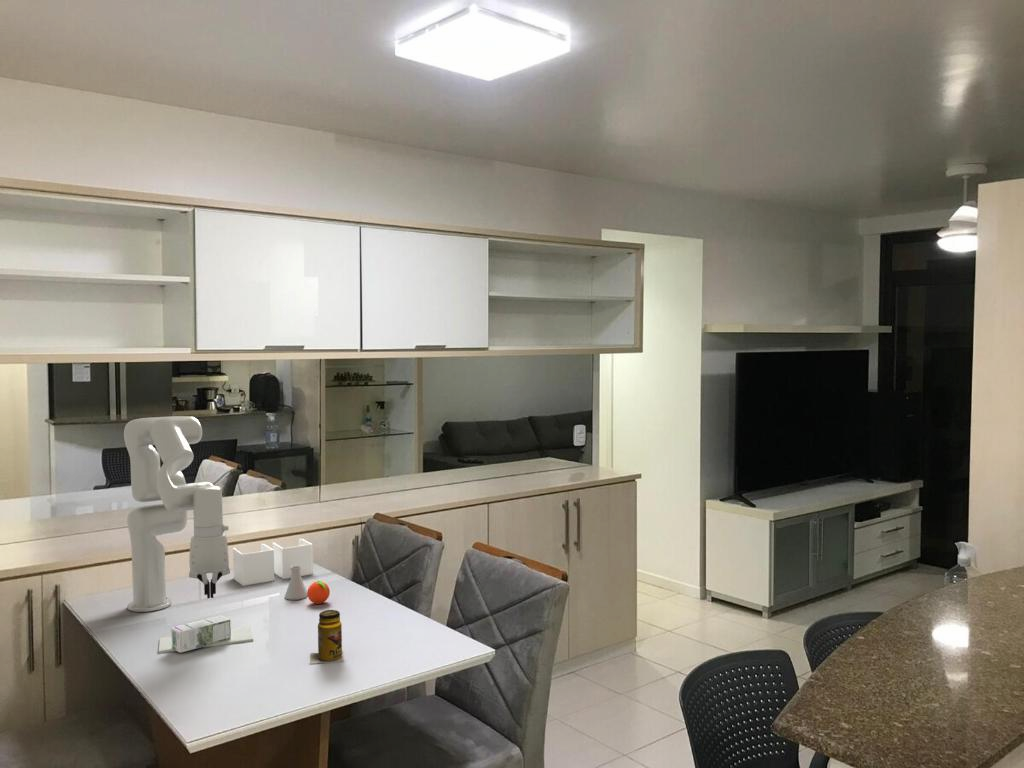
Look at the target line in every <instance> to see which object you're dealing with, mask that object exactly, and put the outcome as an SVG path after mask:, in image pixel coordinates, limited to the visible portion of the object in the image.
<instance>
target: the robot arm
mask: <svg viewBox="0 0 1024 768" xmlns="http://www.w3.org/2000/svg"><path fill="white" fill-rule="evenodd" d="M123 430H124V431H123V439H124V440H123V441H124V444H125V448H126V450H127V452H128V455H129V460H130V462H129V463H130V483H131V484H130V485H131V495H132V498H133V499H134V500H135V501H136V502H138V503H147V502H149V503H150V502H157V501H161V502H162V503H160V504H159V503H158V504H152V505H145V506H140V507H136V508H134V509H132V510H130V512H129V514H128V515H127V518H126V519H127V521H126V523H127V529H128V532H129V539H130V548H131V573H132V574H131V577H132V601H131V602H129V603H128V604H127V609H128V610H129V611H130V612H136V613H145V612H147V613H148V612H155V611H158V610H162V609H163V610H164V609H165V608H168V607H169V606H171V605H172V599H171V598H170V597H167V588H166V587H167V586H166V585H167V584H166V583H167V581H166V579H167V578H166V555H165V553H166V551H165V548H164V546H163V544H162V543H161V541H159V540H158V538H157V536H161V535H167V534H173V533H178V532H182V531H183V530H184V529H185V528H186V526H187V523H188V511H189V512H190V511H193V536H191V537H190V543H189V544H190V545H189V574H188V578H190V579H197V580H199V581H200V582H201V583H202V584H203V585H204V586H203V590H204V593H203V594H204V596H206V599H210V598H211V599H214V595H216V593H217V585H216V584H217V582H218V581H219V580H220V579H221V578H222V577H224V576H227V575H229V574H231V571H230V557H229V544H228V540H227V539H228V538H227V535H226V533H224V532H226V531H229V525H225V524H223V523H224V521H223V519H224V518H223V515H224V514H223V491H222V488H221V487H220V486H217V485H214V484H213V483H212V482H209V481H201V482H199V481H198V482H190V483H187V482H186V479H185V475H184V474H183V472H182V471H184V470H185V469H186V468H188V467H190V465H191V464H192V462H193V461H194V457H195V456H194V455H195V454H194V452H193V451H192V449H191V446H190V445H194V444H198V443H199V442H200V441H202V440H201V439H202V437H203V428H202V425H201V423H200V421H199V419H197V418H196V417H194V416H192V415H191V416H189V415H188V416H186V415H178V416H177V415H176V416H175V415H172V416H171V415H170V416H158V417H157V416H155V417H142V418H141V417H140V418H135V419H132V420H130V421H129V422H127V423H126V424H125V426H124V429H123ZM154 446H155V447H154ZM161 461H162V465H161ZM208 574H212V576H211V579H210V580H209V579H208V576H207V575H208Z"/></svg>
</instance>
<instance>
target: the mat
mask: <svg viewBox="0 0 1024 768" xmlns="http://www.w3.org/2000/svg"><path fill="white" fill-rule="evenodd" d="M248 642H249V643H250V642H254V637H253V634H252V629H251V626H244V627H238V628H237V627H236V628H231V639H229V640H225V641H222V642H218V643H214V644H211V645H207V646H203V648H208V647H210V646H211V647H217V646H226V645H233V644H240V643H248ZM201 648H202V647H200V648H199V649H201ZM172 652H176V651H175V650H174V649H173V648H172V640H171V635H170V636H164V637H159V644H158V654H163V653H172Z"/></svg>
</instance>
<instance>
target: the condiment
mask: <svg viewBox="0 0 1024 768" xmlns="http://www.w3.org/2000/svg"><path fill="white" fill-rule="evenodd" d="M318 616H319V619H318V621H319V622H318V624H317V648H318V650H317V651H318V652H310V654H309V664H310V665H313V664H324V663H325V664H327V663H328V664H329V663H338V662H339V663H340V662H344V660H345V657H344V650H343V642H342V641H343V635H342V633H343V632H342V630H343V628H342V627H343V626H342V625H343V624H342V621H341V613H340V611H338V610H337V609H328V610H323V611H321V612H320V613H319V615H318Z"/></svg>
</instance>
